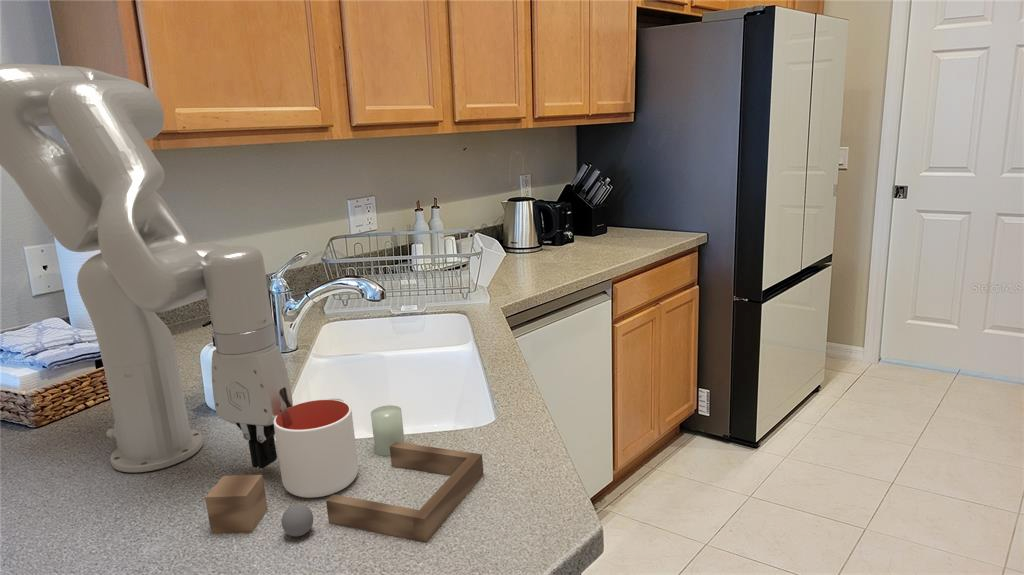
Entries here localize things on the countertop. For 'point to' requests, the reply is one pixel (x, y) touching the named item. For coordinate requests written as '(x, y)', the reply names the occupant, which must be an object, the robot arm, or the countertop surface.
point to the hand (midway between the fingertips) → (265, 463)
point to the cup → (317, 448)
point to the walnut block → (236, 504)
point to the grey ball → (297, 520)
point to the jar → (386, 428)
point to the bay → (408, 520)
